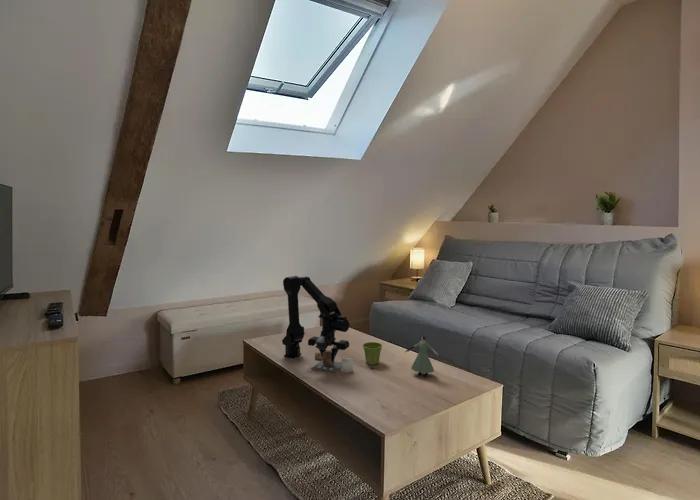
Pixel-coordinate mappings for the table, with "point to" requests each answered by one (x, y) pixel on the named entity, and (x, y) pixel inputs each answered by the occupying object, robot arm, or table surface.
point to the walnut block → (327, 358)
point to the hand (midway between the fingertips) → (328, 361)
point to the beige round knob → (318, 355)
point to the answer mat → (328, 367)
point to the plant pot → (372, 352)
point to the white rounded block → (347, 365)
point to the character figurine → (422, 358)
